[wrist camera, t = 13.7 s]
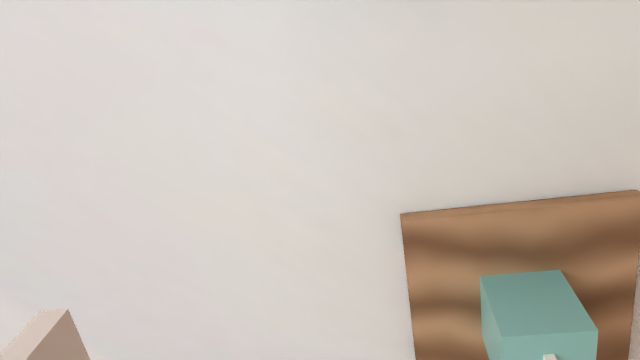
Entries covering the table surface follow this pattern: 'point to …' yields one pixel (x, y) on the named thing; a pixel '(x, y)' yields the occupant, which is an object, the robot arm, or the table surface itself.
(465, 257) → the wooden peg board
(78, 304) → the table surface
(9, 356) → the robot arm
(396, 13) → the table surface
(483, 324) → the teal rectangular block
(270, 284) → the table surface
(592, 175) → the table surface
